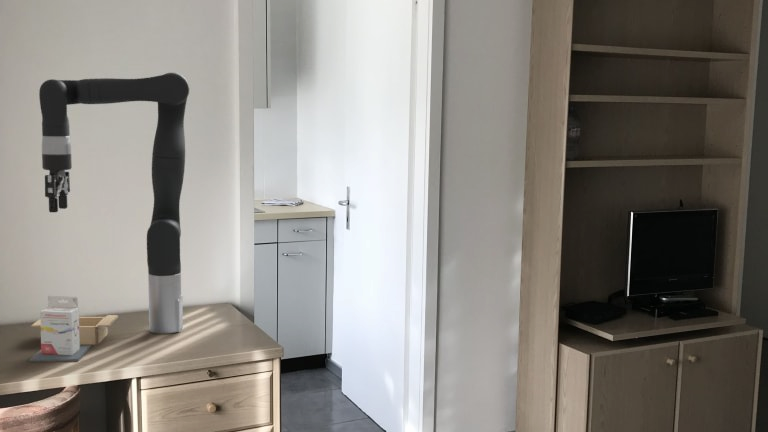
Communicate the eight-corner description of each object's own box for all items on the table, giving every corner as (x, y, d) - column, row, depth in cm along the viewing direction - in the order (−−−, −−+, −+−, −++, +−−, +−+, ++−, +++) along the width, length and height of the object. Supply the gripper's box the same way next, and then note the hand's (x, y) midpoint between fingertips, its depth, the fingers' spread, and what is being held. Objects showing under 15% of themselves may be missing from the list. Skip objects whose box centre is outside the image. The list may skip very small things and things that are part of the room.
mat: (90, 347, 215) (90, 345, 215) (78, 361, 203) (78, 359, 203) (45, 347, 214) (45, 345, 214) (29, 361, 202) (29, 359, 202)
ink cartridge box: (40, 354, 206) (38, 299, 204) (49, 348, 211) (47, 295, 209) (72, 355, 206) (70, 300, 204) (80, 349, 210) (79, 296, 209)
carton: (118, 333, 228) (118, 315, 228) (109, 344, 218) (108, 325, 217) (44, 333, 226) (44, 315, 226) (32, 344, 216) (31, 325, 215)
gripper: (62, 154, 212) (64, 213, 214) (77, 151, 226) (79, 207, 228) (33, 153, 211) (36, 213, 213) (50, 150, 225) (52, 207, 227)
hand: (58, 210), depth 221 cm, fingers open, 8 cm apart
